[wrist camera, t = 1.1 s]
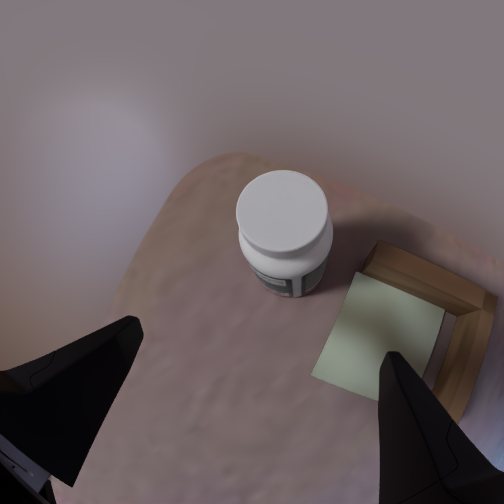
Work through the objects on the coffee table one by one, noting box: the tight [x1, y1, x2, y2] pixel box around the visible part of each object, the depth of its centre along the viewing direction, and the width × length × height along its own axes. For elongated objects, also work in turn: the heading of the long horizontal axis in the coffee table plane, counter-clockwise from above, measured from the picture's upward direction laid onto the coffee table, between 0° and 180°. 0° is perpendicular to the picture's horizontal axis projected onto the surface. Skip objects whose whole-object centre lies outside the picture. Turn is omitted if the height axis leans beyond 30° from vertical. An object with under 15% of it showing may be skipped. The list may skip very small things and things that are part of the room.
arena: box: [311, 240, 498, 425], centre depth 17 cm, size 12×12×4 cm
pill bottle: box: [236, 170, 333, 298], centre depth 18 cm, size 6×6×10 cm
